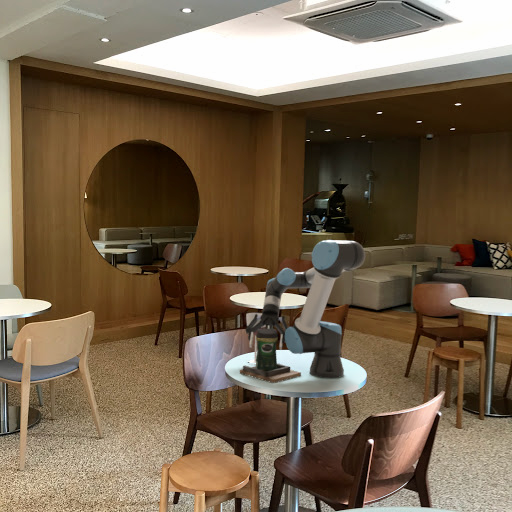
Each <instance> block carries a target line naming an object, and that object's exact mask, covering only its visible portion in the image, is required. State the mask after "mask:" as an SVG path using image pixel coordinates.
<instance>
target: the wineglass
mask: <svg viewBox="0 0 512 512" xmlns="http://www.w3.org/2000/svg"><path fill="white" fill-rule="evenodd" d="M255 314H257V315H258V316H261V315H262V313H261V312H249V313H246V317H245V320H246V327H247V326H248V325H249V324H250V323H251V321H252V320H253V319H254V316H255ZM260 320H261V319H259V320H258V321H257V322H256V324H258V323H259V322H260ZM256 324H255V325H256ZM255 325H254V326H255ZM254 326H253V327H254ZM259 329H267V328H266V325H264V326H263V327H261V328H259ZM253 335H254V358H253V359H249V360H250V361H249V362H250V363H256V356H257V340H256V335H257V331H256V332H254V333H253Z"/></svg>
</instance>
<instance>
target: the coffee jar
mask: <svg viewBox="0 0 512 512" xmlns="http://www.w3.org/2000/svg"><path fill="white" fill-rule="evenodd" d="M278 336H279V335H278V329H277V328H276V329H275V328H265V329H258V330H257V335H256V340H257V351H256V364H254V365H255V366H254V367H255V368H256V369H259V370H263V371H271V370H275V369H277V364H278V361H277V360H278V359H277V342H278V338H279V337H278Z"/></svg>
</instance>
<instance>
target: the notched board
mask: <svg viewBox="0 0 512 512" xmlns="http://www.w3.org/2000/svg"><path fill="white" fill-rule="evenodd" d="M241 373H243V374H242V375H244V374H246V375H245V376H248V375H250V376H249V377H251V376H253V377H252V378H255V377H256V378H255V379H258V378H260V379H259V380H261V379H263V380H262V381H265V380H266V381H265V382H268V381H270V382H269V383H271V382H273V383H272V384H274V382H275V383H278V381H279V382H282V380H283V381H286V379H287V380H291V379H294V378H293V377H295V378H298V377H297V376H299V377H301V376H302V372H300V371H297V370H293V369H291V366H289V365H284V364H282V363H281V364H280V363H277V369H275V370H271V371H263V370H259V369H256V368H255V366H250V365H249V366H248V365H242V368H241V369H239V374H241ZM290 378H291V379H290Z"/></svg>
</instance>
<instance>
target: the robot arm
mask: <svg viewBox="0 0 512 512" xmlns="http://www.w3.org/2000/svg"><path fill="white" fill-rule="evenodd" d="M365 259H366V252H365V249H364V247H363V246H362V244H360V243H359V242H357V241H354V240H333V239H327V240H321V241H319V242H318V243H317V244H315V246H314V247H313V250H312V252H311V262H312V265H313V267H312V268H310V269H308V270H305V271H301V272H299V271H294V270H293V269H291V268H288V267H285V268H283V269H282V270H281V271H279V272H278V273H277V274H276V276H275V277H273V278H271V279H269V280H268V281H267V282H266V283H267V284H266V285H265V286H266V287H265V295H264V296H265V297H264V300H263V301H264V302H263V306H262V315H261V316H258V315H257V314H255V316H254V319H253V320H252V321H251V323H250V324H249V325H248V326H247V325H246V328H245V329H244V330H245V333H246V334H248V336H247V339H248V341H249V344H248V345H249V348H251V349H252V347H253V343H254V342H253V341H254V337H255V335H254V334H253V333H254V332H256V331H257V330H258V329H259V328H261V327H263V326H264V325H266V326H267V327H268V326H270V327H272V326H274V327H275V328H276V330H277V332H279V334H280V340H279V346H278V347H279V351H282V349H283V344H286V348H287V349H288V351H289V352H291V353H292V354H295V355H301V354H308V353H313V354H314V355H313V359H312V361H311V364H310V367H309V374H310V375H312V376H314V377H319V378H325V379H336V378H341V377H343V376H344V374H345V373H344V372H345V371H344V367H343V362H342V359H341V358H342V357H341V354H342V353H341V351H342V348H341V347H342V335H343V334H342V326H341V324H339V323H338V324H337V323H333V322H329V321H322V317H323V314H324V312H325V309H326V306H327V303H328V301H329V298H330V295H331V292H332V291H333V287H334V284H335V282H336V280H337V279H339V278H341V277H342V274H343V273H344V272H352V271H355V270H356V269H358V268H360V267H361V266H362V265H363V264H364V262H365ZM288 289H309V291H308V293H307V297H306V300H305V303H304V305H303V308H302V311H301V314H300V316H299V317H297V318H296V319H295V321H294V324H293V326H289V327H288V325H287V323H286V318H285V315H283V316H280V317H279V314H280V308H281V301H282V295H283V293H285V292H286V291H287V290H288ZM259 319H261V320H260V322H259V323H258V324H256V322H257V321H258V320H259ZM279 321H280V323H282V324H281V325H282V326H281V325H280V324H279ZM255 324H256V325H255ZM254 325H255V326H254ZM253 326H254V327H253ZM282 327H283V328H282Z"/></svg>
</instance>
